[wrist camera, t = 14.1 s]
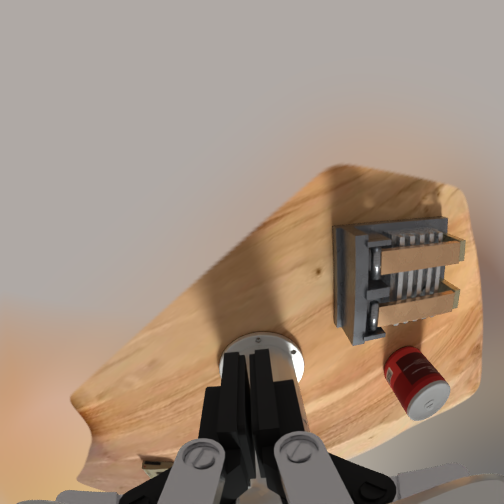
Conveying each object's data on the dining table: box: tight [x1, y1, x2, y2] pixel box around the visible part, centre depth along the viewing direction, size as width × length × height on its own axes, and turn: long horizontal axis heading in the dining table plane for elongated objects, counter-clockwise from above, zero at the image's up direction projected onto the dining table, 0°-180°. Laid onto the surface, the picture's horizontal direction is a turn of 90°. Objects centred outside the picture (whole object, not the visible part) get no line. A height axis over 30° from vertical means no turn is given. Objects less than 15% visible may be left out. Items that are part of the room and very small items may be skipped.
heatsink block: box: [332, 216, 466, 346], centre depth 35 cm, size 14×18×7 cm
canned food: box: [384, 346, 450, 421], centre depth 38 cm, size 8×8×11 cm
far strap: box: [368, 290, 455, 332], centre depth 33 cm, size 4×13×1 cm, turn 96°
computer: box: [142, 461, 174, 479], centre depth 50 cm, size 16×8×3 cm, turn 11°
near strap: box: [371, 241, 460, 280], centre depth 31 cm, size 4×13×1 cm, turn 96°
